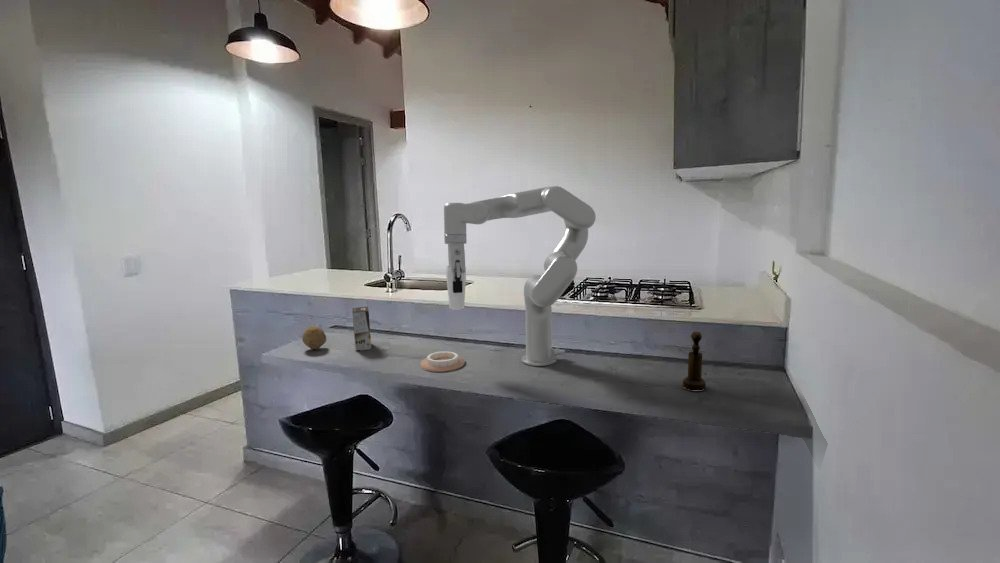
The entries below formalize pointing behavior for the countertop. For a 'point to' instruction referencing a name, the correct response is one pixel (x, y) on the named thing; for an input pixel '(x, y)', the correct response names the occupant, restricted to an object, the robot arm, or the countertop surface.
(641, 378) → the countertop surface
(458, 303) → the drinking glass
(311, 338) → the natural sponge
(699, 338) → the dark chess pawn
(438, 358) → the tan saucer
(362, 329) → the coffee box
